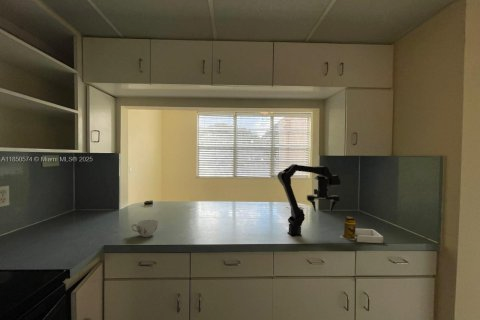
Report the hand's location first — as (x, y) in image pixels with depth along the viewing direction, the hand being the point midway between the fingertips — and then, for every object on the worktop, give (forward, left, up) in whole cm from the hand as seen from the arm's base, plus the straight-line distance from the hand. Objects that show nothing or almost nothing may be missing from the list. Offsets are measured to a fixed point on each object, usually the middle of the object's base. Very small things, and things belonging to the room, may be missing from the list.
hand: (322, 211), depth 158 cm
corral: (+19, -14, -13) cm, 27 cm away
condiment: (+10, -11, -14) cm, 20 cm away
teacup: (-104, +22, -13) cm, 107 cm away
